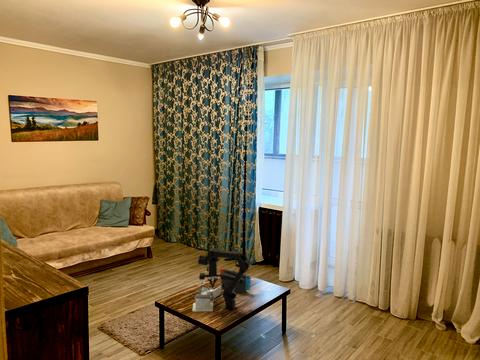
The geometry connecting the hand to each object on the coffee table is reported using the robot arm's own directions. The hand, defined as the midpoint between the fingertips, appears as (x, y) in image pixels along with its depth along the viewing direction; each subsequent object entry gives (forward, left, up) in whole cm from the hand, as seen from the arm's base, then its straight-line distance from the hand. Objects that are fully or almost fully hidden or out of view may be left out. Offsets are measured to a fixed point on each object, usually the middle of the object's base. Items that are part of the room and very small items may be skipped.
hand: (212, 287), depth 252 cm
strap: (+3, +7, -5) cm, 9 cm away
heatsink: (+3, +7, -13) cm, 15 cm away
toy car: (+13, -12, -14) cm, 22 cm away
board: (+3, +7, -13) cm, 15 cm away
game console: (+2, -29, -13) cm, 32 cm away
